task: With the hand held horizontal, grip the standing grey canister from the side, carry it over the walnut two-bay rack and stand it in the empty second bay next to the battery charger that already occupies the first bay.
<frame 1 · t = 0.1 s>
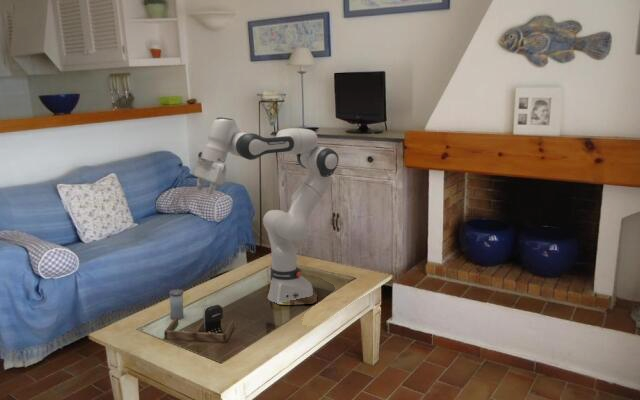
hand: (204, 191, 210), 52 cm above the table, tool tilted 20°, fingers open, 8 cm apart
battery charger: (213, 334, 206), resting in dock
canister: (177, 317, 219), on the table
dock: (200, 332, 206), on the table
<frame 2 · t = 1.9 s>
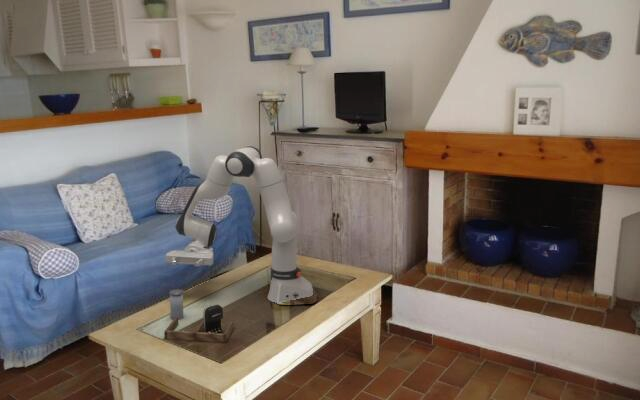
hand: (184, 264, 227), 19 cm above the table, tool horizontal, fingers open, 8 cm apart
nothing on the table moved.
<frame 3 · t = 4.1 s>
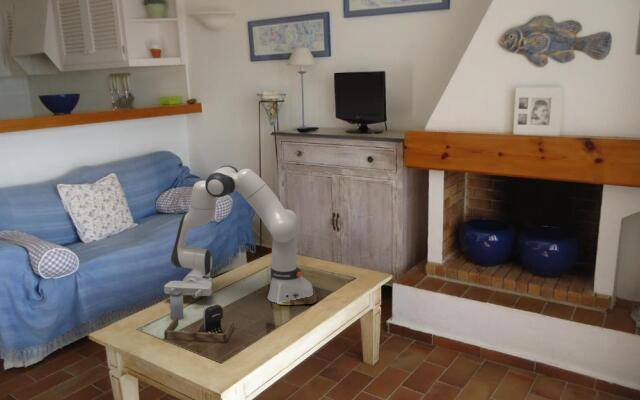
hand: (183, 295, 226), 6 cm above the table, tool horizontal, fingers open, 8 cm apart
nothing on the table moved.
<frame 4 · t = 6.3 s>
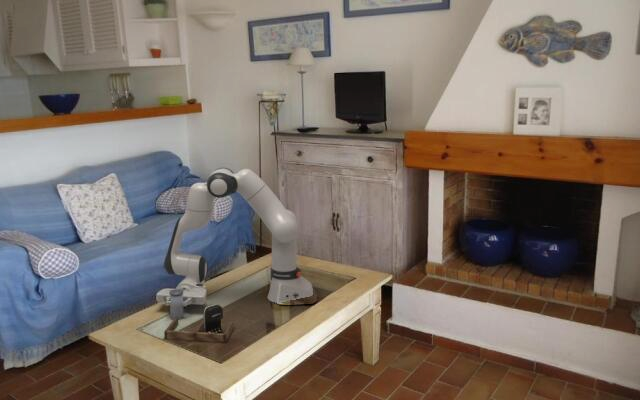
hand: (176, 304, 217), 6 cm above the table, tool horizontal, fingers closed on canister, 5 cm apart
canister: (177, 317, 219), on the table, touching gripper
everything else where it was.
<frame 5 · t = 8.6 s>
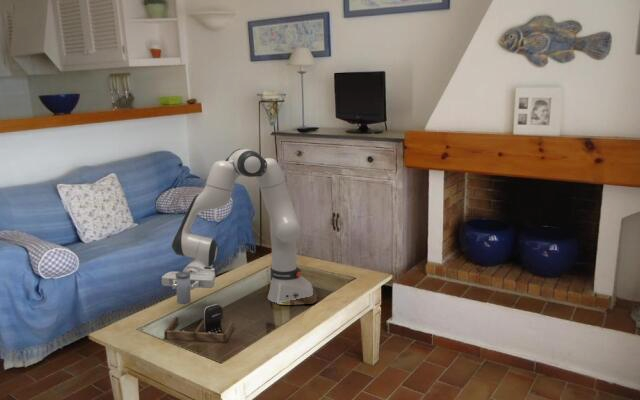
hand: (182, 287, 203), 18 cm above the table, tool horizontal, fingers closed on canister, 5 cm apart
canister: (183, 301, 206), point 12 cm above the table, touching gripper
everything else where it was.
when the fingers open (7 cm above the table, at t = 11.3 s): canister stays where it is, resting in dock.
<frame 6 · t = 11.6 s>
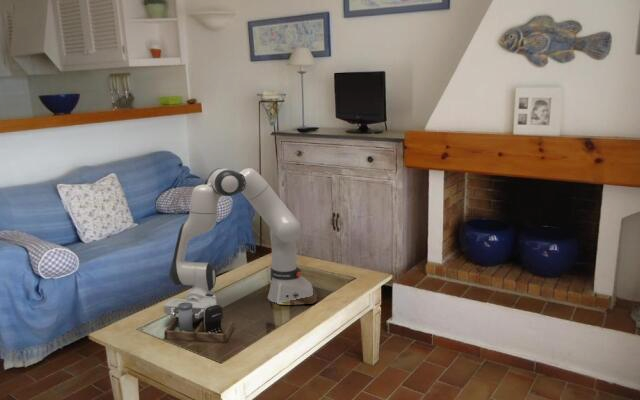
hand: (184, 316, 204), 7 cm above the table, tool horizontal, fingers open, 8 cm apart
canister: (185, 332, 207), resting in dock
everything else where it was.
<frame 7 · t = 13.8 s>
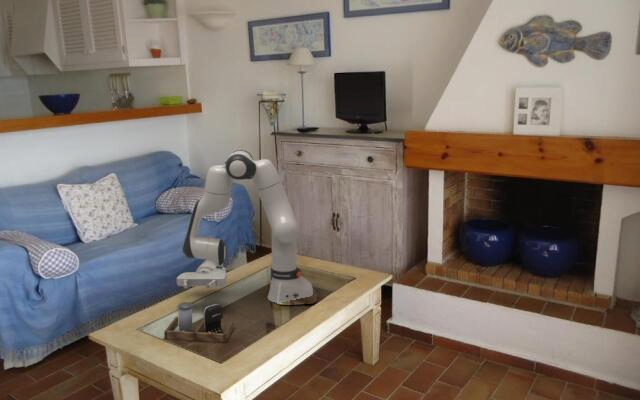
hand: (196, 286, 216), 13 cm above the table, tool horizontal, fingers open, 8 cm apart
nothing on the table moved.
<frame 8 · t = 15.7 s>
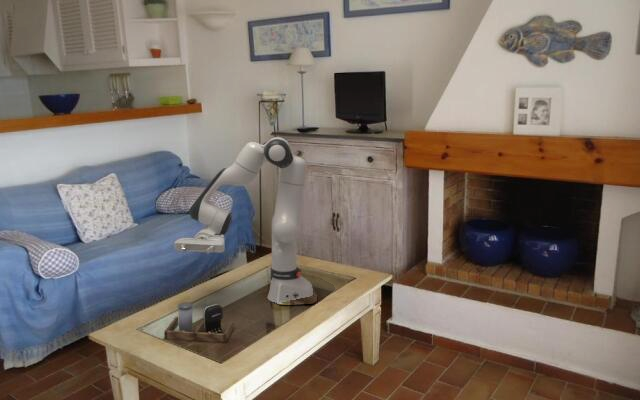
hand: (194, 251, 214), 28 cm above the table, tool horizontal, fingers open, 8 cm apart
nothing on the table moved.
at the end: canister inside the target area (0.2 cm from its centre), resting in dock; canister tilted 0°; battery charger moved 0.2 cm from its start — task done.
